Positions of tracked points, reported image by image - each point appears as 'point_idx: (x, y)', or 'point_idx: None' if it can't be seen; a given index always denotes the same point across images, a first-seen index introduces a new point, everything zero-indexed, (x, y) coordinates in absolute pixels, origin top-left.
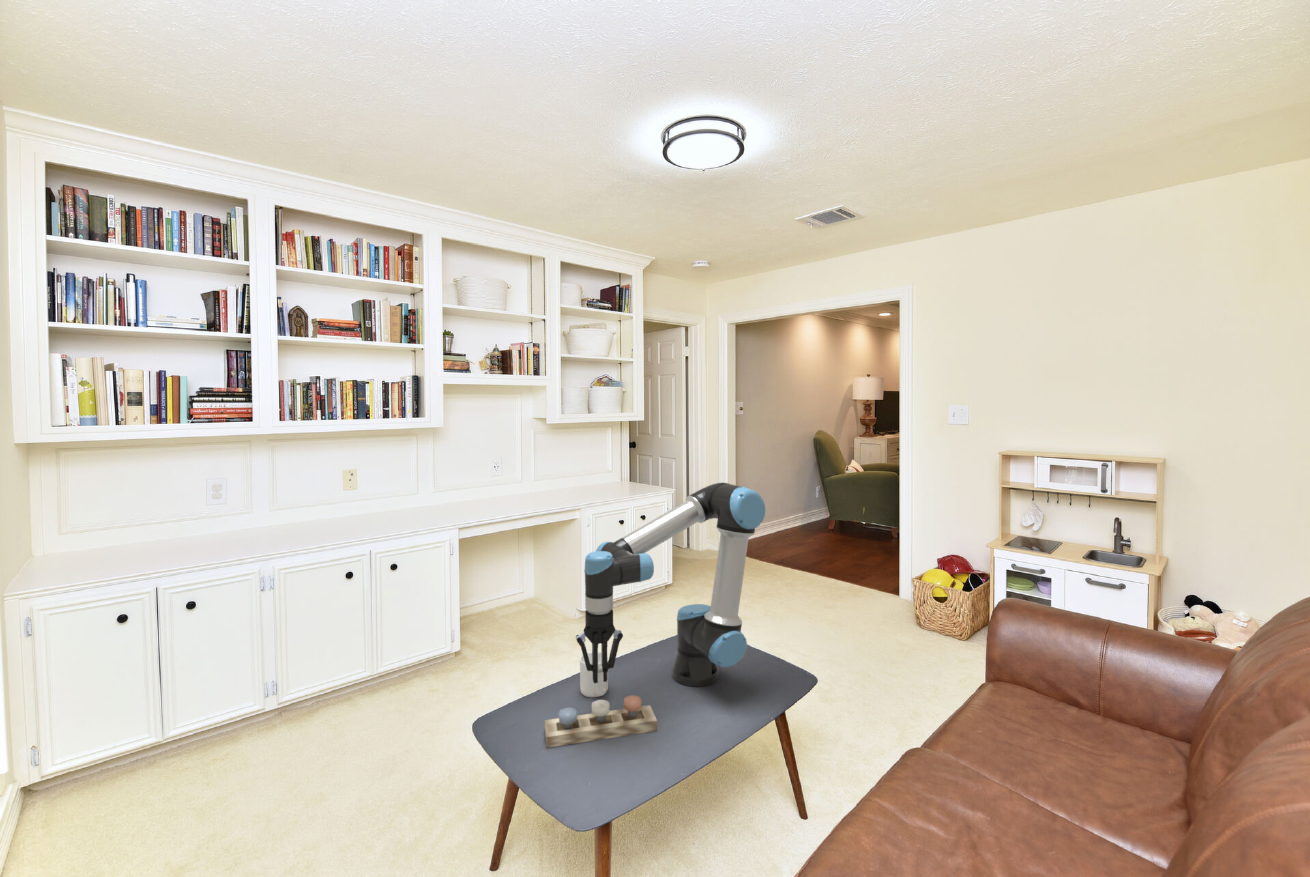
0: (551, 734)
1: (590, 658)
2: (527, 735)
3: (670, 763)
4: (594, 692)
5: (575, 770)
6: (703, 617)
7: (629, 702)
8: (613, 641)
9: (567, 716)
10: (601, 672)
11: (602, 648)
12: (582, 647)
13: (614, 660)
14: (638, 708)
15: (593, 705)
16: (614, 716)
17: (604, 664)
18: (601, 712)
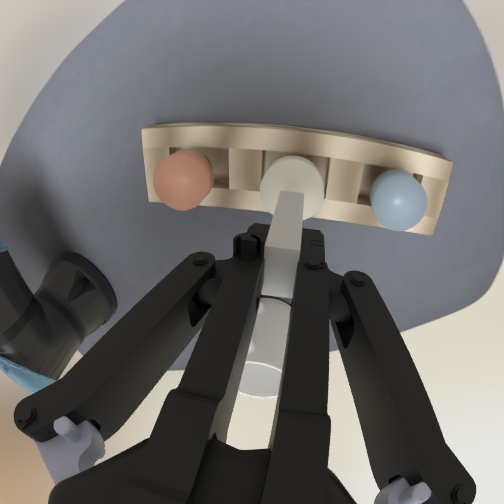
0: (440, 166)
1: (260, 385)
2: (457, 221)
3: (158, 3)
4: (273, 306)
5: (396, 37)
6: None
7: (190, 171)
8: (123, 410)
9: (410, 183)
10: (276, 247)
11: (228, 394)
12: (429, 435)
13: (166, 280)
14: (171, 154)
15: (318, 195)
16: (250, 179)
17: (245, 278)
18: (296, 159)
